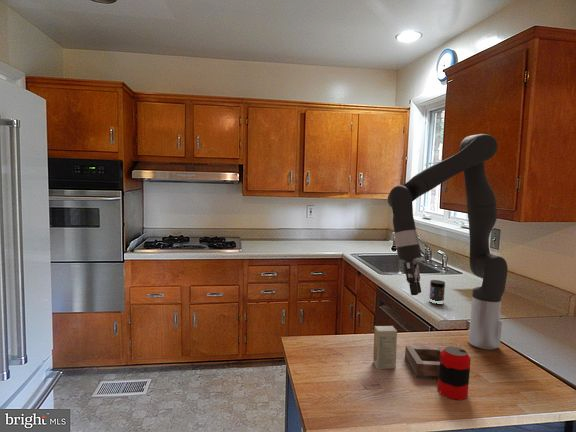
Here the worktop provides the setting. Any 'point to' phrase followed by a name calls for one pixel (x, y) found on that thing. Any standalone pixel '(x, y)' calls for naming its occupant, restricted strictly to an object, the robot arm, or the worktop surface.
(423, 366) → the walnut holder block
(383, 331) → the skincare box
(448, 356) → the soda can
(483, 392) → the worktop surface
